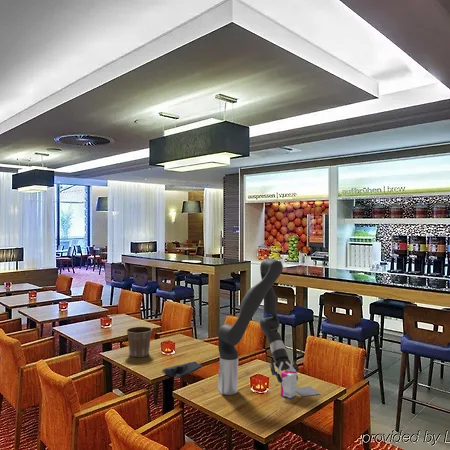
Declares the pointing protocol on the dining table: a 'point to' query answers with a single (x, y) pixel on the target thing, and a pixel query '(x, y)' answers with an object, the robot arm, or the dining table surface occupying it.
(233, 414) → the dining table surface
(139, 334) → the plant pot
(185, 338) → the dining table surface
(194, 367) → the dark slate chunk
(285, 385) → the supplement box
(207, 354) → the dining table surface
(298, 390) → the mat
